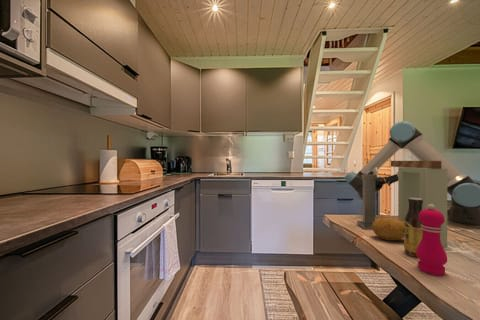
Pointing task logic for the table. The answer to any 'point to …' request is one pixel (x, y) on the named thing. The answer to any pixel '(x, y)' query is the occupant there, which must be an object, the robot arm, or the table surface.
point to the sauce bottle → (413, 226)
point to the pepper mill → (431, 242)
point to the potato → (388, 228)
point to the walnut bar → (417, 164)
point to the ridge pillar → (368, 201)
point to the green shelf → (423, 192)
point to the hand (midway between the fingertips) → (390, 169)
